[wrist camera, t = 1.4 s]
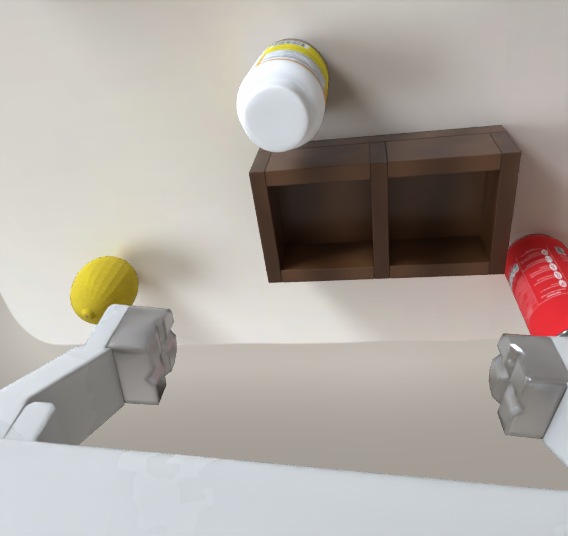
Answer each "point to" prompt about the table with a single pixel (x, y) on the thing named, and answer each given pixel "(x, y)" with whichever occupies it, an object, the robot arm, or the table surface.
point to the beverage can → (540, 283)
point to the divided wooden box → (387, 205)
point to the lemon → (103, 287)
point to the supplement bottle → (284, 96)
